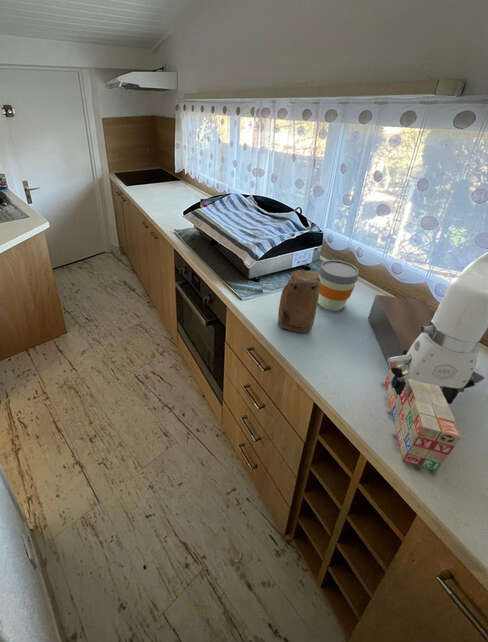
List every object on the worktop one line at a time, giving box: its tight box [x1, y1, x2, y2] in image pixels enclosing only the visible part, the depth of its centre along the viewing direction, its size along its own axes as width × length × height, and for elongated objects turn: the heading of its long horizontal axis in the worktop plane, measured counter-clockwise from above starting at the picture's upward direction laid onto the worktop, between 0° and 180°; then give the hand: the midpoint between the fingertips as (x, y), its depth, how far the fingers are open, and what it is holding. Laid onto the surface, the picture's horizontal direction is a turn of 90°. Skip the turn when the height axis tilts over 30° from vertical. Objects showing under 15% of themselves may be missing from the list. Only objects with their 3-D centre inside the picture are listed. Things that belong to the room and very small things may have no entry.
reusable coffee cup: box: [318, 259, 359, 312], centre depth 109 cm, size 13×13×15 cm
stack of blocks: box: [384, 364, 462, 472], centre depth 69 cm, size 21×6×12 cm, turn 160°
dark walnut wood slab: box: [367, 294, 435, 370], centre depth 90 cm, size 14×25×10 cm, turn 167°
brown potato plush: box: [277, 269, 320, 334], centre depth 97 cm, size 11×8×20 cm
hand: (420, 393), depth 68 cm, fingers open, 9 cm apart
